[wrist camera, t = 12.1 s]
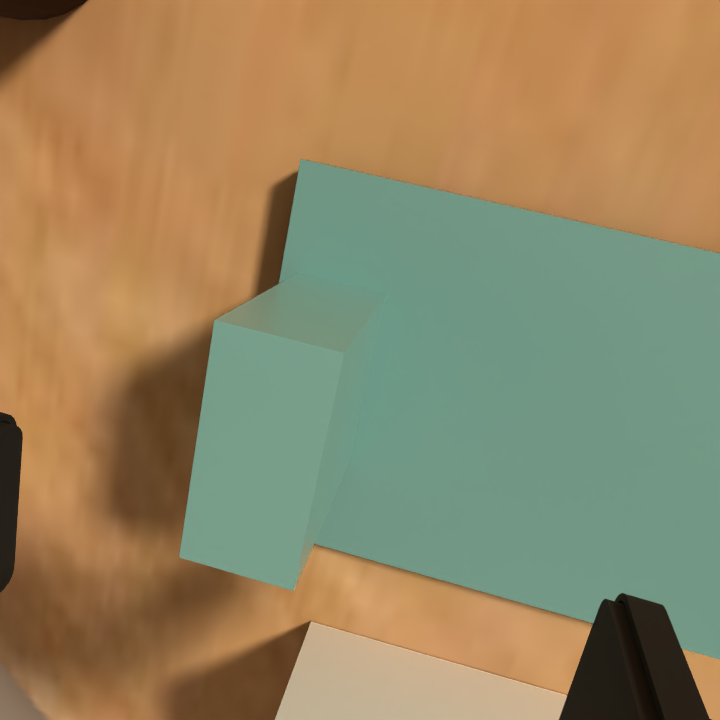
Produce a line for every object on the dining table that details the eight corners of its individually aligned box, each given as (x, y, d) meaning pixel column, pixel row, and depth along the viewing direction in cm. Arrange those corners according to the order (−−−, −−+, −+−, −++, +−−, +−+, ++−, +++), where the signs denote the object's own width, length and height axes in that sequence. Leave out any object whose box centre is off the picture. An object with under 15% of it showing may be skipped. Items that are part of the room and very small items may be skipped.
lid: (869, 285, 17) (1164, 369, 10) (715, 626, 20) (850, 883, 13) (315, 160, 18) (209, 152, 11) (253, 496, 21) (141, 661, 14)
